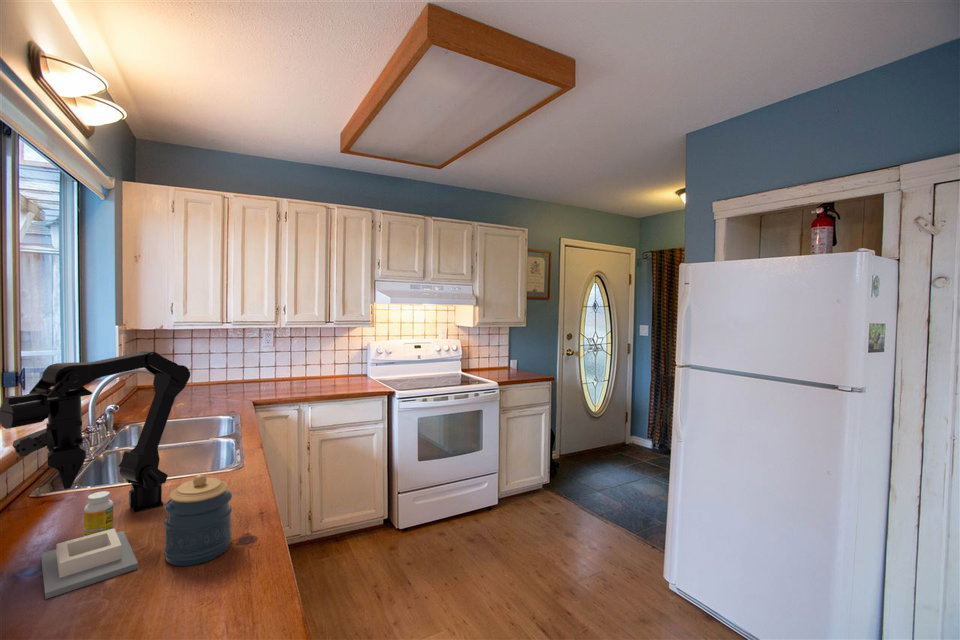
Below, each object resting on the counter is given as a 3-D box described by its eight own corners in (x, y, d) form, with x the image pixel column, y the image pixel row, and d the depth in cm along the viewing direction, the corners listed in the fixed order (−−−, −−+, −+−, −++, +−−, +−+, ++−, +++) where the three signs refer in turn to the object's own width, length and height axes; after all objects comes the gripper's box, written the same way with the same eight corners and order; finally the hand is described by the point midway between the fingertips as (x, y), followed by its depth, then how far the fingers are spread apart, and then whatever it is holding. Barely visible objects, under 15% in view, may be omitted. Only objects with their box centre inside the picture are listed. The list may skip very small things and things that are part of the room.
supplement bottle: (88, 530, 107) (88, 491, 107) (116, 526, 110) (116, 488, 109) (80, 541, 102) (80, 501, 102) (109, 536, 105) (109, 497, 104)
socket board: (123, 535, 105) (123, 518, 105) (137, 568, 93) (138, 549, 93) (41, 558, 95) (41, 539, 95) (45, 599, 83) (45, 577, 83)
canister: (222, 530, 110) (223, 460, 109) (238, 552, 100) (240, 476, 100) (159, 549, 101) (159, 473, 100) (170, 575, 91) (171, 492, 91)
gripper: (17, 414, 104) (19, 478, 105) (12, 434, 91) (15, 507, 91) (80, 407, 112) (82, 466, 113) (85, 423, 98) (86, 491, 99)
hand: (66, 481), depth 104 cm, fingers open, 9 cm apart
